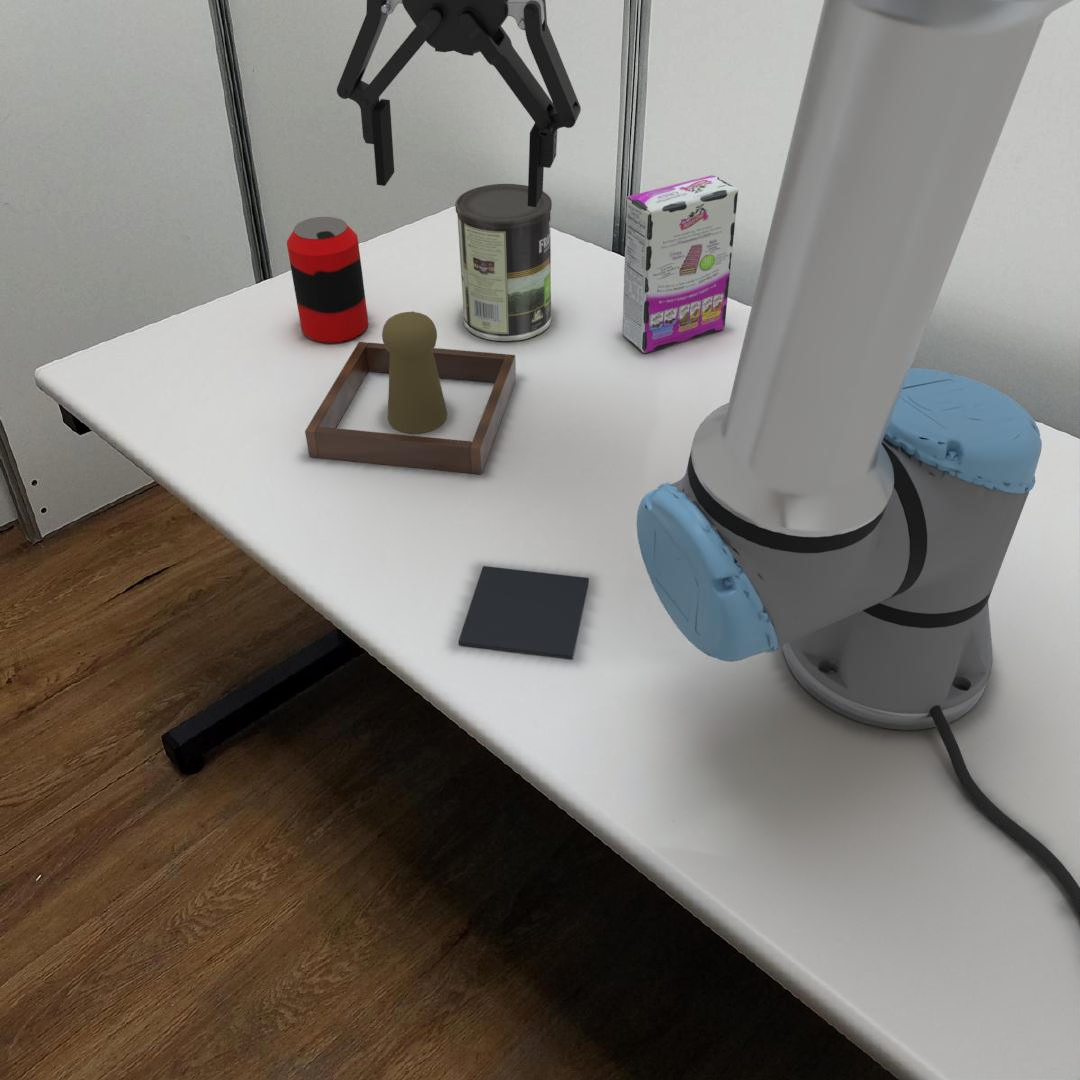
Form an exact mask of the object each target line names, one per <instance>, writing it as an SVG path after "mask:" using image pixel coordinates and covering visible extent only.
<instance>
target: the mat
mask: <svg viewBox="0 0 1080 1080" xmlns="http://www.w3.org/2000/svg"><path fill="white" fill-rule="evenodd" d="M588 585H589V577H584V576H575V575H568V574H557V573H551V572H550V573H549V572H541V571H540V572H539V571H531V570H524V569H523V570H522V569H513V568H505V567H498V566H497V567H495V566H486V565H483V566H482V568H481V571H480V574H479V577H478V579H477V582H476V587H475V589H474V592H473V596H472V598H471V601H470V605H469V608H468V610H467V614H466V617H465V620H464V623H463V626H462V629H461V632H460V636H459V639H458V646H465V647H472V648H481V649H489V650H496V651H505V652H513V653H520V654H529V655H537V656H545V657H551V658H552V657H554V658H563V659H569V660H573V657H574V654H575V648H576V643H577V638H578V634H579V628H580V623H581V619H582V615H583V609H584V606H585V599H586V595H587V590H588V587H589V586H588Z"/></svg>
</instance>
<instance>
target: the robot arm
mask: <svg viewBox="0 0 1080 1080" xmlns="http://www.w3.org/2000/svg"><path fill="white" fill-rule="evenodd" d="M546 1H547V0H366V11H365V12H366V14H365V16H364V19H363V22H362V24H361V27H360V29H359V32H358V34H357V36H356V39H355V41H354V44H353V46H352V49H351V52H350V54H349V57H348V59H347V62H346V64H345V67H344V69H343V72H342V74H341V76H340V80H339V81H338V84H337V87H336V94H337V95H338V97H339V98H341V99H343V100H347V99H349V100H351V101H353V102H355V103H356V104H357V105H358V107H359V108H360V109H359V110H360V118H361V119H360V120H361V130H362V138H363V140H364V143H365V144H367V145H368V144H369V145H373V150H374V151H373V153H374V165H375V178H376V179H375V181H376V186H381V187H386V186H387V184H388V183H389V181H390V180H391V178H392V177H393V175H394V174H395V161H394V160H395V159H394V142H393V126H392V110H391V99H386V98H381V99H380V97H381V96H382V94H383V93H384V92H385V90H387V88H388V87H389V86H390V85H391V84H392V82H393V81H394V80H395V79H396V77H398V75H399V74H400V72H401V71H402V70H403V69H404V68H405V66H406V65H407V64H408V63H409V62H410V60H411V59H412V58H413V57H414V56H415V55H416V53H417V52H418V51H419V49H421V47H423V45H424V44H425V42H426V43H427V44H428V45H429V46H430V47H432V48H433V49H434V52H438V53H449V52H456V53H458V54H460V55H463V56H470V57H471V56H472V57H473V56H474V55H475V54H478V53H480V54H481V55H482V57H483V58H484V59H485V60H486V62H487V63H488V64H489V65H490V66H493V68H495V70H496V71H497V72H498V74H499V75H500V76H501V78H502V79H503V80H504V82H505V83H506V84H507V86H508V88H509V89H510V90H511V91H512V93H513V95H514V96H515V97H516V98H517V100H518V102H519V103H520V104H521V105H522V107H523V108H524V109H525V111H526V112H527V114H528V115H529V117H530V118H531V119H532V121H533V122H534V124H533V125H532V127H531V130H530V131H529V143H528V144H529V145H528V147H529V149H528V177H527V179H528V181H527V186H528V206H530V207H536V206H537V204H538V202H539V200H540V198H541V195H542V193H543V192H544V168H547V169H551V167H552V165H553V163H554V161H555V159H556V157H557V148H558V147H557V144H558V130H559V129H561V128H566V129H571V128H573V127H574V126H575V125H576V122H577V120H578V118H579V116H580V114H581V109H582V108H581V104H580V102H579V99H578V97H577V94H576V92H575V89H574V87H573V84H572V82H571V79H570V77H569V74H568V72H567V70H566V67H565V65H564V62H563V60H562V57H561V55H560V52H559V50H558V48H557V45H556V42H555V40H554V38H553V36H552V33H551V30H550V27H549V25H548V18H547V4H546V3H547V2H546ZM1073 1H1074V0H823V3H822V8H821V12H820V16H819V21H818V25H817V29H816V33H815V37H814V42H813V45H812V46H813V47H812V50H811V54H810V59H809V63H808V67H807V71H806V75H805V80H804V84H803V89H802V93H801V97H800V101H799V106H798V110H797V113H796V118H795V122H794V126H793V131H792V135H791V139H790V143H789V147H788V152H787V156H786V159H785V164H784V168H783V172H782V177H781V182H780V185H779V189H778V193H777V198H776V203H775V208H774V211H773V215H772V219H771V223H770V228H769V231H768V236H767V240H766V245H765V249H764V253H763V257H762V262H761V266H760V270H759V275H758V279H757V282H756V287H755V291H754V295H753V300H752V304H751V308H750V312H749V317H748V321H747V325H746V329H745V334H744V338H743V342H742V346H741V351H740V355H739V359H738V362H737V367H736V372H735V375H734V380H733V384H732V388H731V393H730V397H729V401H728V402H727V403H725V404H722V405H721V406H719V407H718V408H716V409H714V410H713V411H712V412H710V413H709V414H708V415H707V416H706V417H705V418H704V419H703V421H702V422H701V423H700V424H699V426H698V428H697V429H696V431H695V433H694V436H693V439H692V443H691V447H690V453H689V456H688V461H687V466H686V471H685V474H684V476H683V477H682V478H681V479H679V480H678V481H675V482H672V483H670V482H664V483H660V484H658V486H657V488H655V489H653V490H651V491H649V492H647V493H646V494H645V495H644V496H643V497H642V498H641V500H640V502H639V505H638V507H637V512H636V535H637V541H638V546H639V550H640V553H641V554H640V555H641V559H642V561H643V564H644V567H645V569H646V573H647V575H648V577H649V579H650V582H651V584H652V587H653V589H654V591H655V592H656V595H657V597H658V599H659V600H660V602H661V604H662V606H663V608H664V610H665V611H666V613H667V614H668V617H670V619H671V621H672V622H673V623H674V624H675V626H676V628H677V629H678V630H679V631H680V633H682V635H683V636H684V637H685V639H687V640H688V641H689V642H690V644H692V646H694V647H695V648H697V649H698V650H699V651H700V652H701V653H703V654H705V655H706V656H708V657H711V658H713V659H717V660H719V661H721V662H722V661H723V662H727V663H733V662H738V661H739V662H740V661H742V660H745V659H749V658H750V657H753V656H756V655H759V654H762V653H771V652H772V653H773V652H775V651H776V650H778V649H779V648H780V647H782V651H783V656H784V658H785V661H786V663H787V665H788V668H789V670H790V671H791V673H792V675H793V676H794V677H795V679H796V680H797V682H798V683H799V684H800V685H801V686H802V687H803V688H804V690H806V691H807V692H808V693H809V694H810V695H811V696H812V697H813V698H815V699H816V700H817V701H819V702H820V703H821V704H823V705H824V706H826V707H827V708H829V709H831V710H833V711H834V712H837V713H838V714H841V715H842V716H844V717H846V718H848V719H851V720H854V721H857V722H859V723H863V724H866V725H870V726H872V727H873V726H875V727H878V728H884V729H891V730H903V731H904V730H905V731H913V730H925V729H931V728H936V730H937V732H938V733H939V736H940V738H941V741H942V742H943V745H944V747H945V749H946V751H947V754H948V756H949V759H950V762H951V765H952V768H953V771H954V772H955V775H956V777H957V779H958V781H959V783H960V784H961V786H962V788H963V789H964V790H965V792H966V793H967V795H968V796H969V797H970V798H971V800H972V801H973V802H974V803H975V804H976V805H977V807H978V808H979V809H981V811H982V812H983V813H984V814H985V815H986V816H987V817H988V818H990V819H991V820H992V821H993V822H994V823H995V824H997V825H998V826H999V827H1000V828H1001V829H1003V830H1004V831H1005V832H1006V833H1008V834H1009V835H1010V836H1011V837H1012V838H1014V839H1015V840H1017V841H1018V842H1019V843H1020V844H1021V845H1022V846H1024V847H1025V848H1027V849H1028V850H1029V851H1030V852H1031V853H1032V854H1033V855H1035V857H1037V858H1038V859H1039V860H1040V861H1041V862H1042V863H1043V864H1044V865H1045V867H1046V868H1048V870H1050V872H1051V873H1052V874H1053V875H1054V877H1055V878H1056V879H1057V880H1058V882H1059V883H1060V885H1061V886H1062V888H1063V889H1064V891H1066V892H1065V893H1067V895H1068V896H1069V898H1070V899H1071V901H1072V903H1073V905H1074V907H1075V909H1076V910H1077V912H1078V915H1080V885H1079V884H1078V882H1077V881H1076V880H1075V878H1074V877H1073V876H1072V874H1071V873H1070V872H1069V870H1068V869H1067V868H1066V866H1065V865H1064V864H1063V863H1062V862H1061V861H1060V860H1059V858H1057V856H1056V855H1055V854H1054V853H1053V852H1051V850H1050V849H1049V848H1047V847H1046V846H1045V845H1044V844H1043V843H1042V842H1041V841H1040V840H1038V839H1037V838H1036V837H1035V836H1033V834H1031V833H1030V832H1028V831H1027V830H1026V829H1024V827H1022V826H1021V825H1019V824H1018V823H1017V822H1016V821H1015V820H1013V819H1012V818H1010V817H1009V816H1008V815H1007V814H1006V813H1004V812H1003V811H1002V810H1001V809H1000V808H999V807H998V806H997V805H996V804H995V803H993V802H992V800H990V799H989V798H988V796H987V795H986V794H985V793H984V792H983V791H982V790H981V789H980V787H979V785H978V784H977V783H976V782H975V779H973V777H972V775H971V774H970V772H969V770H968V768H967V767H968V766H967V765H966V762H965V760H964V756H963V754H962V752H961V749H960V747H959V744H958V742H957V740H956V738H955V736H954V733H953V732H952V731H953V730H952V729H951V727H950V725H949V723H951V722H954V721H955V720H958V719H959V718H961V717H963V716H964V715H966V714H967V713H968V712H970V711H971V710H972V709H973V708H974V707H975V706H976V705H977V703H978V702H979V701H980V699H981V697H982V695H983V694H984V692H985V689H986V687H987V683H988V680H989V678H990V676H991V673H992V668H993V662H994V661H993V660H994V659H993V641H992V632H991V617H990V606H989V600H990V597H991V595H992V591H993V589H994V586H995V584H996V581H997V579H998V576H999V573H1000V571H1001V567H1002V565H1003V562H1004V561H1005V558H1006V555H1007V551H1008V549H1009V547H1010V544H1011V542H1012V539H1013V536H1014V533H1015V531H1016V528H1017V525H1018V523H1019V520H1020V517H1021V515H1022V512H1023V509H1024V507H1025V505H1026V501H1027V499H1028V496H1029V494H1030V492H1031V491H1032V490H1033V488H1034V487H1035V485H1036V476H1035V475H1036V471H1037V467H1038V464H1039V460H1040V456H1041V453H1042V446H1043V444H1042V443H1043V441H1042V438H1041V433H1040V429H1039V427H1038V425H1037V423H1036V421H1035V419H1034V418H1033V417H1032V416H1031V414H1030V413H1029V412H1028V411H1027V410H1026V409H1025V408H1024V407H1022V405H1020V404H1019V403H1018V402H1017V401H1015V400H1014V399H1013V398H1011V397H1010V396H1008V395H1006V394H1005V393H1003V392H1002V391H1000V390H998V389H996V388H994V387H992V386H990V385H987V384H985V383H983V382H980V381H978V380H975V379H972V378H969V377H966V376H963V375H959V374H955V373H951V372H947V371H943V370H938V369H931V368H919V367H918V368H915V367H912V365H913V363H914V360H915V358H916V356H917V352H918V350H919V347H920V345H921V342H922V339H923V337H924V334H925V332H926V330H927V326H928V325H929V322H930V319H931V317H932V314H933V311H934V309H935V306H936V304H937V302H938V301H937V300H938V299H939V296H940V293H941V290H942V288H943V285H944V282H945V280H946V277H947V275H948V272H949V270H950V267H951V265H952V261H953V260H954V257H955V254H956V251H957V249H958V246H959V244H960V241H961V238H962V236H963V234H964V231H965V228H966V225H967V223H968V220H969V218H970V215H971V213H972V210H973V208H974V205H975V202H976V200H977V197H978V195H979V193H980V189H981V187H982V184H983V182H984V179H985V176H986V174H987V171H988V169H989V166H990V164H991V161H992V158H993V156H994V153H995V150H996V148H997V145H998V143H999V140H1000V138H1001V135H1002V133H1003V130H1004V127H1005V124H1006V123H1007V119H1008V118H1009V114H1010V111H1011V110H1012V106H1013V104H1014V101H1015V98H1016V96H1017V93H1018V91H1019V88H1020V85H1021V83H1022V80H1023V78H1024V75H1025V73H1026V70H1027V67H1028V65H1029V62H1030V59H1031V57H1032V54H1033V52H1034V49H1035V47H1036V44H1037V42H1038V39H1039V36H1040V34H1041V31H1042V29H1043V26H1044V24H1045V21H1046V19H1047V18H1048V17H1049V16H1050V15H1051V14H1052V13H1053V12H1055V11H1057V10H1058V9H1060V8H1062V7H1064V6H1065V5H1067V4H1069V3H1071V2H1073ZM399 4H402V7H403V8H404V10H405V11H406V13H407V14H408V16H409V17H410V19H411V20H412V23H414V25H415V27H414V28H413V29H412V31H411V32H410V33H409V35H408V36H407V37H406V38H405V40H403V42H402V43H401V44H400V46H399V47H398V48H397V50H395V52H394V53H393V54H392V56H391V57H389V59H388V60H387V62H386V63H385V64H384V66H382V68H381V69H380V70H379V71H378V73H377V74H376V75H375V76H374V78H373V79H372V80H371V81H370V83H367V82H365V81H363V77H364V75H365V72H366V70H367V68H368V65H369V63H370V60H371V58H372V55H373V53H374V51H375V49H376V45H377V44H378V41H379V39H380V36H381V34H382V32H383V29H384V27H385V24H386V22H387V20H388V17H389V15H391V14H393V13H394V12H395V10H396V9H397V8H398V5H399ZM508 17H512V18H513V19H514V20H515V22H516V26H517V27H518V28H519V30H522V31H525V32H524V33H525V38H526V41H527V44H528V47H529V49H530V52H531V54H532V57H533V60H534V61H535V64H536V66H537V68H538V70H539V74H540V76H541V78H542V80H543V82H544V85H545V87H546V90H547V92H548V94H547V93H546V91H545V90H544V89H543V87H542V86H541V84H540V83H539V81H538V79H536V77H535V75H534V74H533V73H532V72H531V70H530V68H529V67H528V66H527V64H526V63H525V62H524V60H523V59H522V57H521V56H520V55H519V53H518V52H517V51H516V49H515V48H514V46H513V43H512V40H511V38H510V36H509V35H508V34H507V32H506V30H505V29H504V28H503V27H502V25H503V24H504V22H505V21H506V20H507V18H508ZM548 95H549V96H548Z"/></svg>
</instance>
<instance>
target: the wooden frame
mask: <svg viewBox="0 0 1080 1080" xmlns="http://www.w3.org/2000/svg"><path fill="white" fill-rule="evenodd" d="M433 354H434V358H435V362H436V367H437V371H438V375H439V379H440V378H441V379H452V380H453V379H455V380H461V381H462V380H463V381H473V382H474V381H475V382H486V383H494V385H493V387H492V390H491V392H490V395H489V397H488V400H487V402H486V405H485V407H484V410H483V413H482V416H481V418H480V421H479V423H478V426H477V428H476V430H475V434H474V436H473V437H472V440H461V439H450V438H441V437H440V438H439V437H430V436H429V437H428V436H420V435H409V434H398V433H391V432H390V433H388V432H379V431H378V432H377V431H368V430H360V429H359V430H358V429H348V428H339V427H338V425H339V423H340V422H341V419H342V418H343V416H344V414H345V412H346V410H347V409H348V408H349V405H350V404H351V402H352V401H353V398H354V397H355V394H356V393H357V391H358V390H359V388H360V386H361V384H362V383H363V381H364V379H365V377H366V375H367V374H368V372H374V373H384V374H385V373H386V374H389V365H390V353H389V352H388V351H387V350H386V347H385V345H384V343H379V342H367V341H358V342H357V344H356V346H355V347H354V349H353V351H352V352H351V354H350V356H349V358H348V359H347V361H346V363H345V364H344V365H343V367H342V369H341V371H340V373H339V374H338V376H337V377H336V379H335V380H334V382H333V384H332V386H331V387H330V389H329V391H328V392H327V394H326V395H325V397H324V399H323V401H322V402H321V404H319V407H318V409H317V410H316V412H315V414H314V415H313V417H312V418H311V420H310V421H309V424H308V425H307V427H306V429H305V430H304V434H305V439H306V446H307V451H308V456H309V457H310V458H319V459H327V460H337V461H347V462H355V463H356V462H358V463H367V464H376V465H386V466H394V467H395V466H396V467H406V468H415V469H427V470H435V471H444V472H454V473H455V472H456V473H465V474H474V475H475V474H476V475H482V474H483V471H484V468H485V465H486V462H487V460H488V458H489V455H490V452H491V449H492V447H493V444H494V441H495V438H496V436H497V433H498V430H499V427H500V424H501V421H502V420H503V417H504V414H505V411H506V408H507V405H508V403H509V399H510V397H511V394H512V392H513V388H514V386H515V383H516V381H517V365H516V363H517V361H516V354H510V353H496V352H484V351H474V350H463V349H462V350H461V349H450V348H440V347H439V348H438V347H434V348H433Z"/></svg>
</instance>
